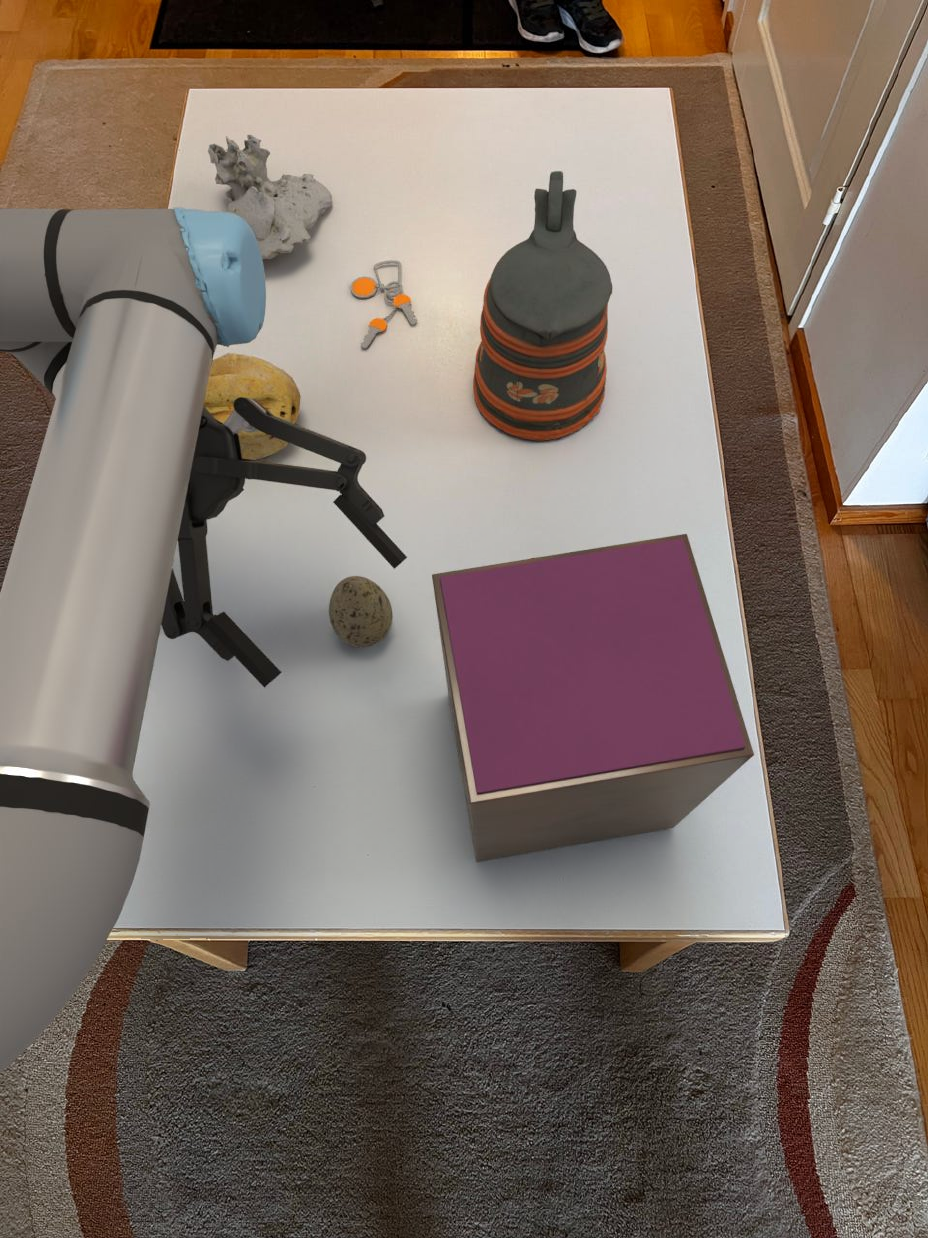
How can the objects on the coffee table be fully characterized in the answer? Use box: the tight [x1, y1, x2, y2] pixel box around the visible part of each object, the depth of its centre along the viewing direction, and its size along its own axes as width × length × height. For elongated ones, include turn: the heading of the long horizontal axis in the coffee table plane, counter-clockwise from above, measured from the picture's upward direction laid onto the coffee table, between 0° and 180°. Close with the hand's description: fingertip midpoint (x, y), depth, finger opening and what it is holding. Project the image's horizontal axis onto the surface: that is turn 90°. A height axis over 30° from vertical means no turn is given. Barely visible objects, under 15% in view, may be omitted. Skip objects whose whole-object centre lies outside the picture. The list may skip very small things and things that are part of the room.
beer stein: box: [472, 170, 613, 442], centre depth 89 cm, size 19×15×20 cm
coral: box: [207, 134, 333, 261], centre depth 104 cm, size 17×14×10 cm
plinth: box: [431, 533, 755, 863], centre depth 69 cm, size 18×16×26 cm
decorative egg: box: [328, 575, 394, 648], centre depth 82 cm, size 6×6×10 cm
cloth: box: [440, 538, 746, 794], centre depth 57 cm, size 17×15×1 cm
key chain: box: [349, 260, 418, 349], centre depth 103 cm, size 13×7×1 cm, turn 8°
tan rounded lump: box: [203, 352, 301, 460], centre depth 92 cm, size 13×10×10 cm
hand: (336, 623), depth 66 cm, fingers open, 13 cm apart
